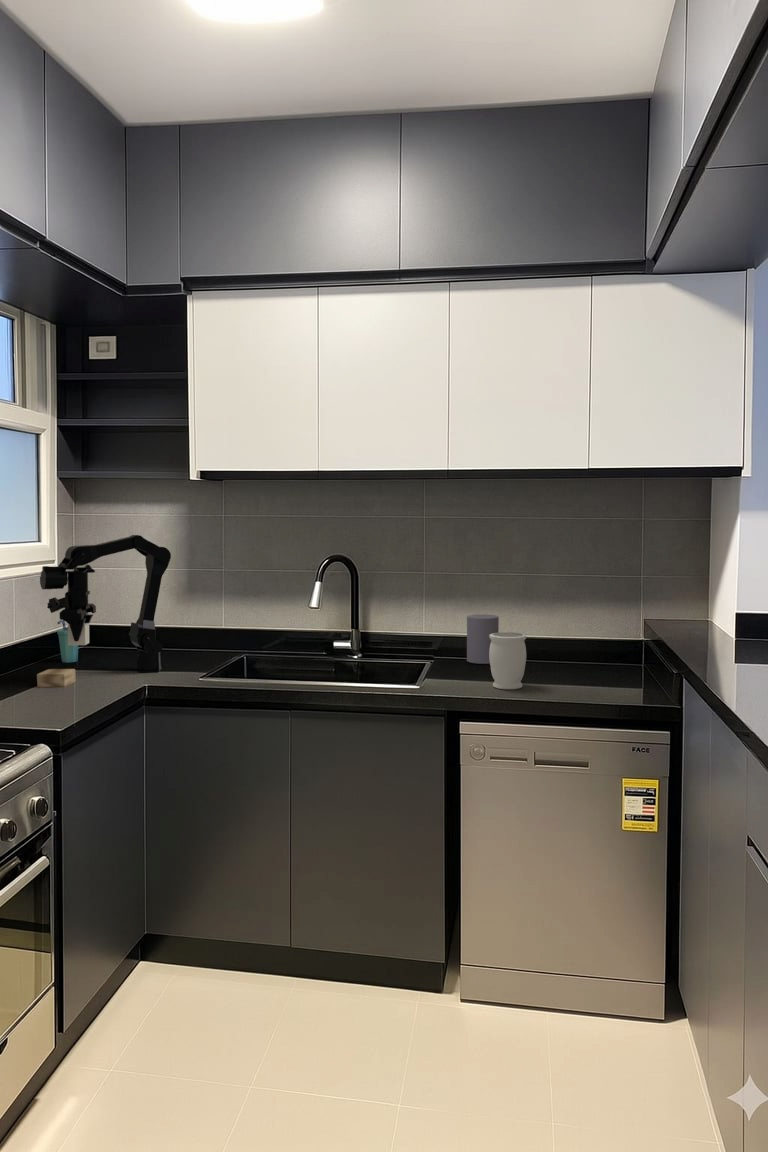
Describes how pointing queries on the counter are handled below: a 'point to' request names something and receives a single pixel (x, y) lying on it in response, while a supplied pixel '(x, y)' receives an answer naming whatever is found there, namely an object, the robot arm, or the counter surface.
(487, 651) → the container
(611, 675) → the counter surface
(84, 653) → the counter surface
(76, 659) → the cup
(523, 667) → the jar
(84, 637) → the ceramic cube
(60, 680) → the oak block
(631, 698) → the counter surface
